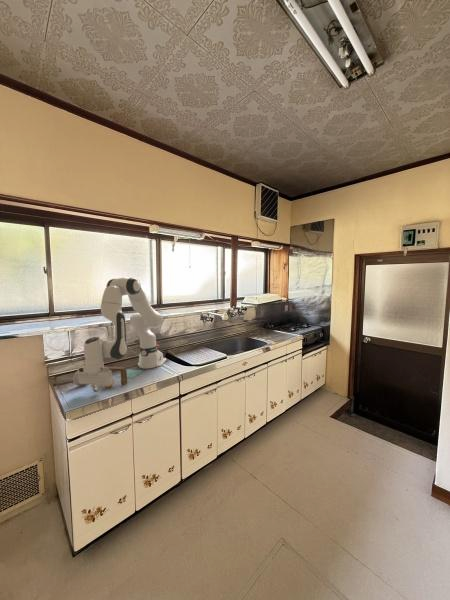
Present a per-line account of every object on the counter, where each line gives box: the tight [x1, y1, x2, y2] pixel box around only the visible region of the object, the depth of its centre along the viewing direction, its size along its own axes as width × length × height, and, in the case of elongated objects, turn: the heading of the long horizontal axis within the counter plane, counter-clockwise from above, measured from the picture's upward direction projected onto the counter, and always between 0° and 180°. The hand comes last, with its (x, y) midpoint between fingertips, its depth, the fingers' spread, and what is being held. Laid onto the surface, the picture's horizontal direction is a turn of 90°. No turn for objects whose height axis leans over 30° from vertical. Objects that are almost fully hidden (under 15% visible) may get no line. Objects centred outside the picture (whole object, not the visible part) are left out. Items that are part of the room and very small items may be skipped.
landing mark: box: [115, 369, 145, 379], centre depth 163 cm, size 13×13×1 cm
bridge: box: [104, 365, 128, 386], centre depth 148 cm, size 3×15×10 cm, turn 76°
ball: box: [104, 378, 115, 388], centre depth 143 cm, size 6×6×6 cm
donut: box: [72, 370, 86, 387], centre depth 147 cm, size 10×4×10 cm, turn 136°
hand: (96, 391), depth 134 cm, fingers closed
